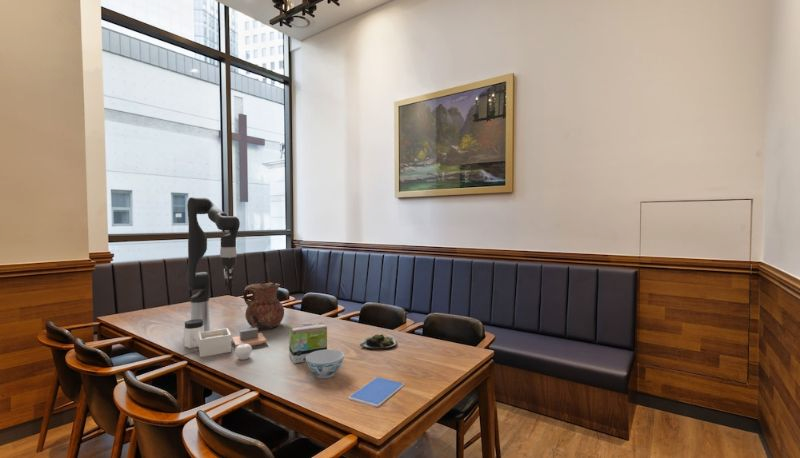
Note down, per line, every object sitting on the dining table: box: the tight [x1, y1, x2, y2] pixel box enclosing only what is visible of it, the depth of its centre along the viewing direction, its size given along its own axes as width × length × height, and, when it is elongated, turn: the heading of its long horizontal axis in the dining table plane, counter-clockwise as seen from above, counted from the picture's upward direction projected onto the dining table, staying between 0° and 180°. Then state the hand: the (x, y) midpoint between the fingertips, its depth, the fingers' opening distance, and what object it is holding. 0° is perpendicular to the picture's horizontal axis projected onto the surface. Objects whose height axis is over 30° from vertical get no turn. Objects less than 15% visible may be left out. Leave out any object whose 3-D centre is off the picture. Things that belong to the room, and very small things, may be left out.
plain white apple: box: [234, 341, 253, 361], centre depth 167 cm, size 7×7×8 cm
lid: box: [231, 327, 267, 347], centre depth 186 cm, size 14×14×7 cm
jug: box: [242, 282, 285, 330], centre depth 217 cm, size 22×21×25 cm
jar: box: [183, 319, 204, 349], centre depth 186 cm, size 9×8×12 cm
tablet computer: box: [348, 376, 405, 408], centre depth 134 cm, size 19×13×1 cm, turn 151°
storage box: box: [198, 327, 232, 358], centre depth 178 cm, size 13×13×8 cm
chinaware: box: [305, 348, 345, 379], centre depth 149 cm, size 15×15×8 cm
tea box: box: [288, 321, 328, 365], centre depth 167 cm, size 15×10×15 cm
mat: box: [231, 340, 269, 351], centre depth 186 cm, size 17×15×1 cm
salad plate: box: [359, 333, 397, 351], centre depth 186 cm, size 19×18×5 cm
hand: (228, 287), depth 188 cm, fingers open, 8 cm apart
